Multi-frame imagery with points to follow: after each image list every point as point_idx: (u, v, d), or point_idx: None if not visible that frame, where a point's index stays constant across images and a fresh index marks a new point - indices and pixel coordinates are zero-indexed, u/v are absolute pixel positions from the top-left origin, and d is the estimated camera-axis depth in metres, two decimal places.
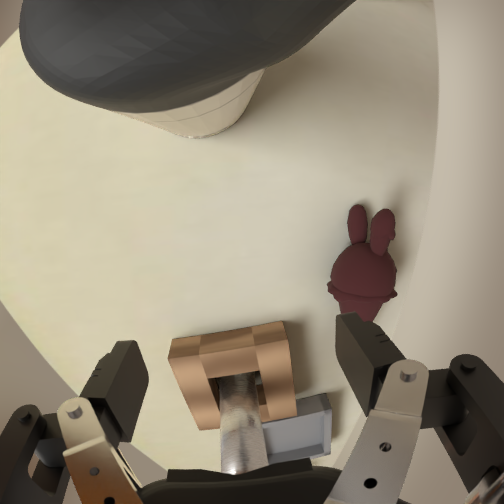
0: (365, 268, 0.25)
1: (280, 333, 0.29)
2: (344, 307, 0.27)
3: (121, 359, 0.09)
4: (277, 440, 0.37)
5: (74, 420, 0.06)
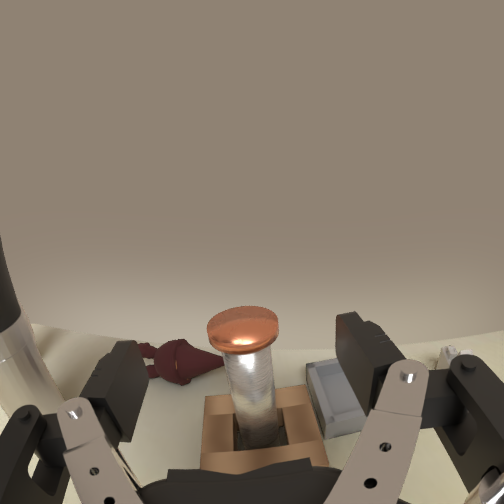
0: (158, 354, 0.39)
1: None
2: (186, 366, 0.38)
3: (121, 359, 0.09)
4: None
5: (74, 420, 0.06)
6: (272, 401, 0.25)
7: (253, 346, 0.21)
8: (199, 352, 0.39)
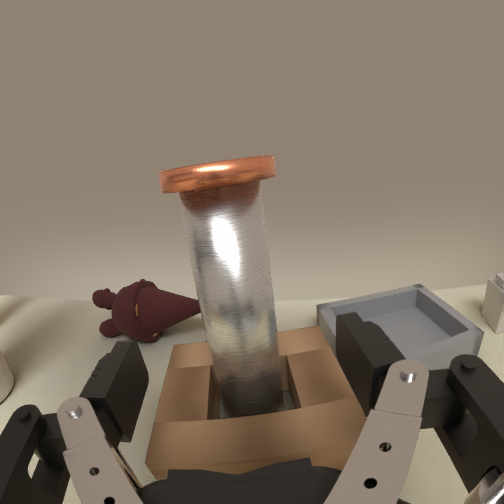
0: (116, 298, 0.30)
1: None
2: (149, 312, 0.28)
3: (121, 359, 0.09)
4: (418, 345, 0.22)
5: (74, 420, 0.06)
6: (271, 321, 0.15)
7: (231, 170, 0.12)
8: (168, 295, 0.30)
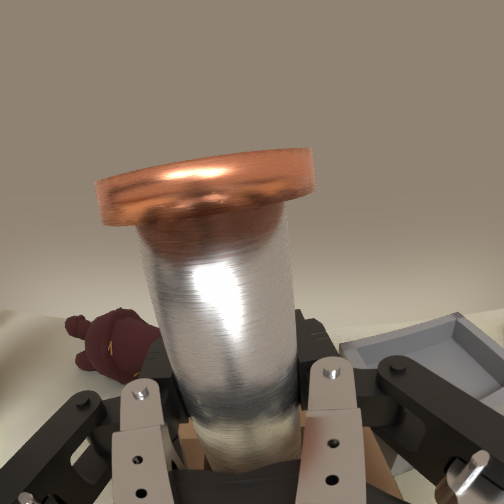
0: (89, 331, 0.23)
1: None
2: (126, 351, 0.22)
3: None
4: None
5: (143, 401, 0.07)
6: (294, 419, 0.09)
7: (229, 179, 0.05)
8: (150, 329, 0.23)
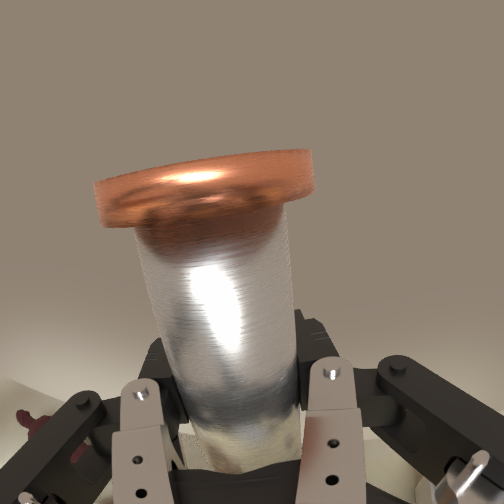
0: (30, 430, 0.22)
1: None
2: None
3: None
4: None
5: (143, 401, 0.07)
6: (294, 420, 0.09)
7: (228, 181, 0.05)
8: None
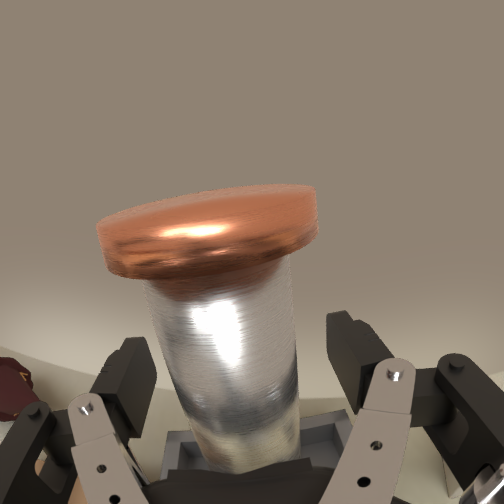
0: None
1: None
2: None
3: (131, 355, 0.10)
4: None
5: (86, 416, 0.06)
6: (294, 439, 0.09)
7: (233, 239, 0.05)
8: (12, 381, 0.18)
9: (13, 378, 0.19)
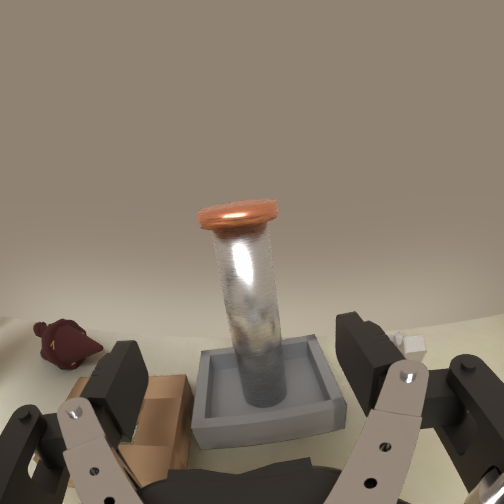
0: (44, 333, 0.32)
1: None
2: (62, 347, 0.30)
3: (121, 359, 0.09)
4: (282, 403, 0.24)
5: (74, 420, 0.06)
6: (275, 315, 0.22)
7: (249, 216, 0.18)
8: (76, 334, 0.32)
9: (77, 332, 0.32)
